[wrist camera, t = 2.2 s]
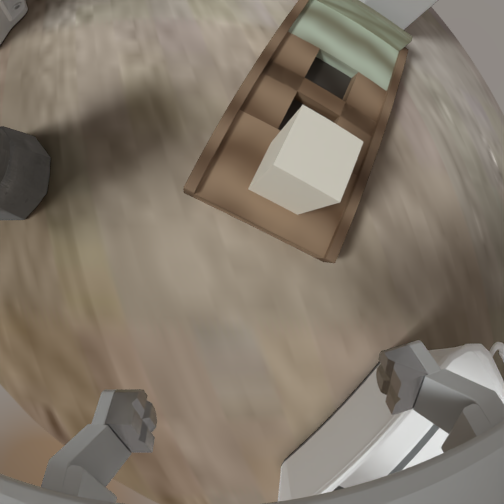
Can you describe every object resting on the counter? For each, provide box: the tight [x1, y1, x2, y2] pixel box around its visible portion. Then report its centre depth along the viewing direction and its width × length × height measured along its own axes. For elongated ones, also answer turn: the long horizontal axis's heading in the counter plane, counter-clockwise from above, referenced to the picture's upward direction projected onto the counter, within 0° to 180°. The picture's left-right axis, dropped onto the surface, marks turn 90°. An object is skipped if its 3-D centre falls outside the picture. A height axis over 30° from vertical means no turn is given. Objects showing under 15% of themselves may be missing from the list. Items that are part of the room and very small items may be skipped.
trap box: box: [184, 0, 412, 263], centre depth 28 cm, size 30×15×5 cm, turn 154°
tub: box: [278, 342, 504, 502], centre depth 27 cm, size 34×27×13 cm
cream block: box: [248, 105, 363, 215], centre depth 24 cm, size 5×5×8 cm
